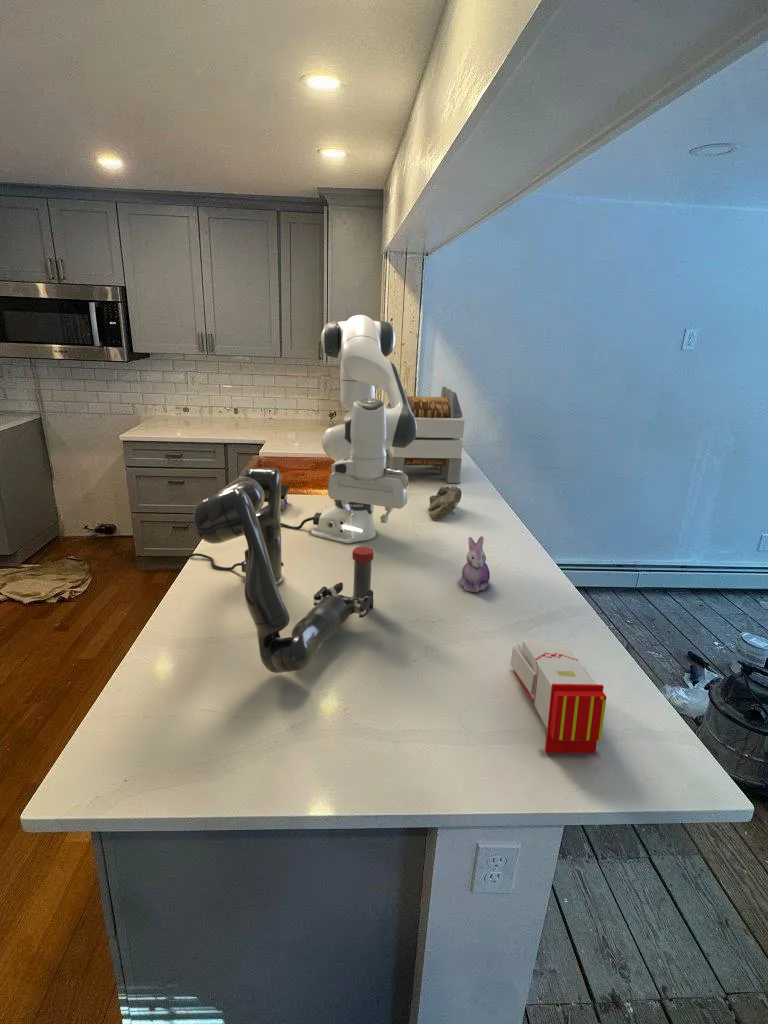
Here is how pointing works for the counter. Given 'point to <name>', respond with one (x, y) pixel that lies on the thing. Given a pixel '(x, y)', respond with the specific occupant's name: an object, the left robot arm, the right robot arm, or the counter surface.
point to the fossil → (444, 502)
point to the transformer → (433, 436)
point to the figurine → (475, 568)
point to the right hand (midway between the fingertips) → (366, 519)
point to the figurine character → (283, 496)
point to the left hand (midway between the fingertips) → (356, 589)
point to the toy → (561, 695)
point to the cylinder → (361, 578)
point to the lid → (363, 554)
